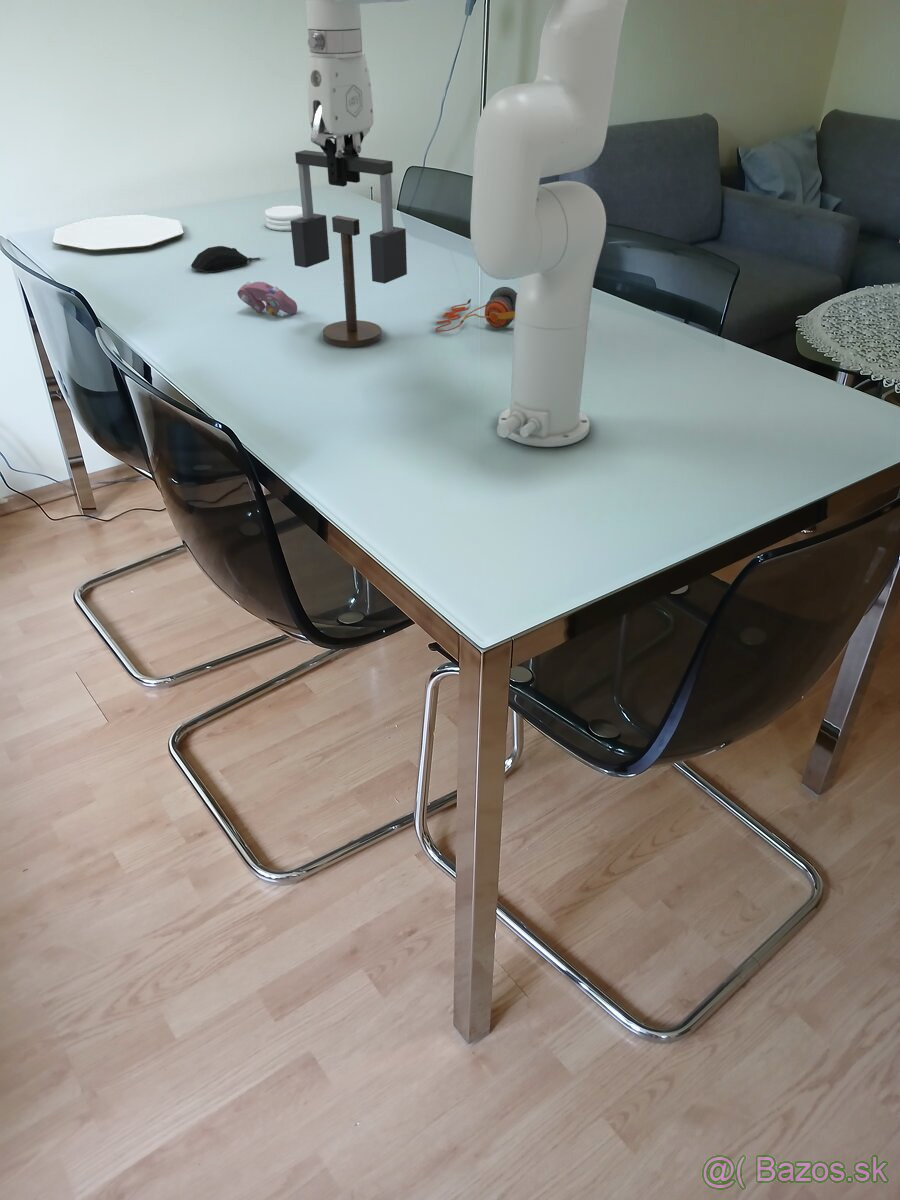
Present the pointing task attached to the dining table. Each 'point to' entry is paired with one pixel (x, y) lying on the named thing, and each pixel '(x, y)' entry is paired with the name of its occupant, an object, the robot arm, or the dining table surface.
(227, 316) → the dining table surface
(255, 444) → the dining table surface
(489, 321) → the headphones
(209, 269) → the gaming mouse
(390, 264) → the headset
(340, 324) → the headphone stand
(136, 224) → the plate
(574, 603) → the dining table surface
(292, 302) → the video game controller
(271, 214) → the stack of white coasters
